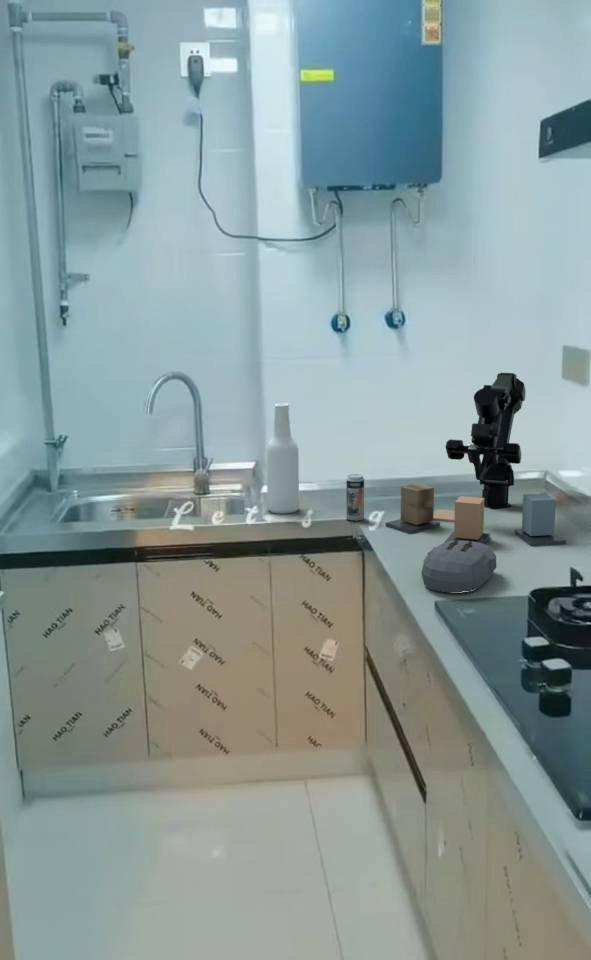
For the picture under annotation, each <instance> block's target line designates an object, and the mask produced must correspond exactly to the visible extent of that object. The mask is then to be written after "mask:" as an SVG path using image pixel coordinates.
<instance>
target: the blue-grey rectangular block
mask: <svg viewBox="0 0 591 960" xmlns="http://www.w3.org/2000/svg"><path fill="white" fill-rule="evenodd" d="M522 497H523V498H522V518H521V529H522V530H523V531H525V532H526V533H527V534H529V535H530V536H540V535H554V532H555V525H556V523H555V522H556V504H557V499H556V498H554V497H552V496H551V495H549V494H548V493H532V494H531V493H529V494H523V495H522Z"/></svg>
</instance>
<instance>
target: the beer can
mask: <svg viewBox="0 0 591 960" xmlns="http://www.w3.org/2000/svg"><path fill="white" fill-rule="evenodd" d="M345 480H346V483H345V484H346V516H345V517H346V519H347V520H349V521H350V520H351V521H350V522H359V520H360V521H362V520H364V519H365V478H364V476H363V475H362V474H358V473H356V474H348V476H347V478H346V479H345Z"/></svg>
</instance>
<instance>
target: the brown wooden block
mask: <svg viewBox="0 0 591 960" xmlns="http://www.w3.org/2000/svg"><path fill="white" fill-rule="evenodd" d="M434 497H435V487H434V486H429V485H426V484H421V483H417V482H416V483H413V484H408V485H404V486H401V487H400V519H401V520H402V521H405V522H409V523H412V524H415V525H419V524H423V523H427V522H431V521H433V514H434V513H435V510H434V509H435V508H434V504H435V501H434V499H435V498H434Z"/></svg>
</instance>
